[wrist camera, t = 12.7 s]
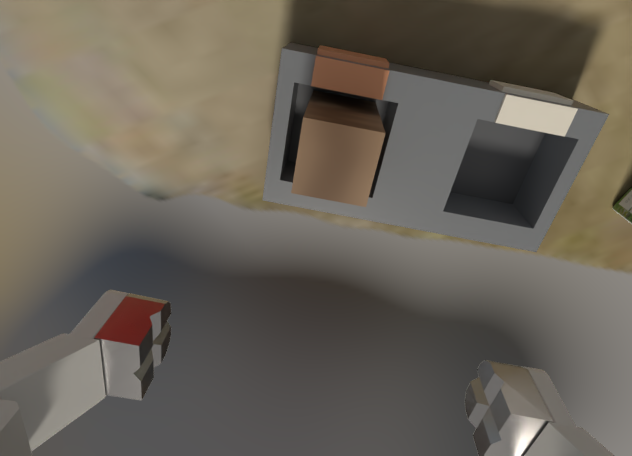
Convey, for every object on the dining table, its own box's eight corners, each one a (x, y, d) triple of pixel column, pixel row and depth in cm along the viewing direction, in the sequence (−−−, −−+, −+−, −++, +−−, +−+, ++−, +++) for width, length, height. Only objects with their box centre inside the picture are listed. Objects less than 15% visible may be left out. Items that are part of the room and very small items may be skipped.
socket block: (574, 95, 28) (614, 110, 24) (513, 222, 33) (537, 253, 29) (291, 37, 28) (282, 43, 23) (272, 176, 33) (262, 201, 28)
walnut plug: (375, 102, 29) (385, 133, 22) (361, 161, 31) (366, 207, 24) (313, 90, 29) (303, 117, 22) (303, 150, 31) (291, 193, 24)
